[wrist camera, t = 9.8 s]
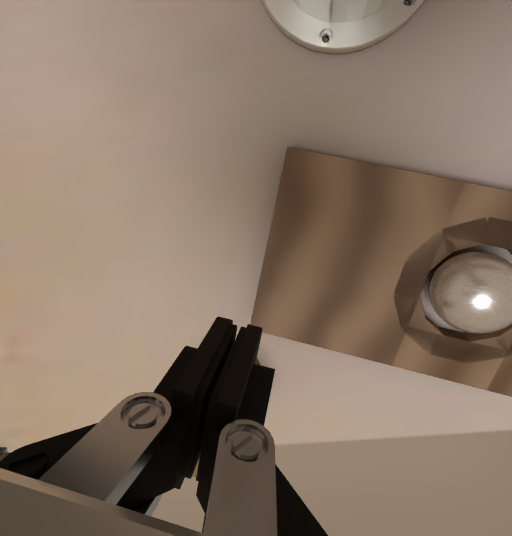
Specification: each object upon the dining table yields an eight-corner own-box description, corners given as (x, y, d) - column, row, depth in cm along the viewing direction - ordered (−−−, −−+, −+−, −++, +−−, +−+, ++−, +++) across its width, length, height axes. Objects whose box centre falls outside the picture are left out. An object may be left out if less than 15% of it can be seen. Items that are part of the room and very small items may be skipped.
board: (252, 321, 32) (249, 328, 30) (289, 147, 26) (287, 146, 25) (513, 388, 29) (523, 399, 28) (612, 211, 24) (630, 214, 23)
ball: (537, 291, 19) (533, 238, 23) (423, 279, 23) (436, 234, 27) (519, 360, 22) (518, 303, 26) (422, 340, 26) (434, 292, 30)
